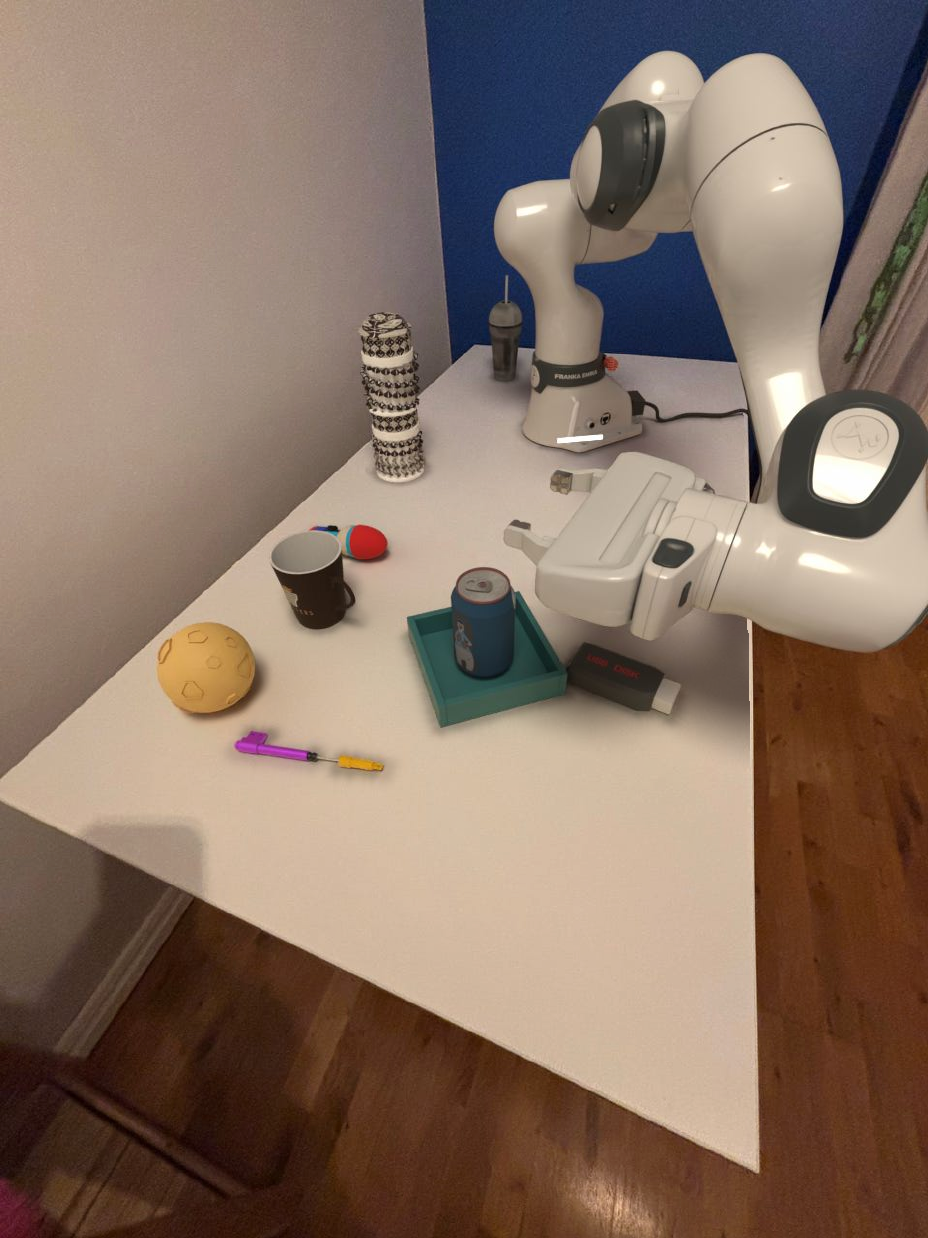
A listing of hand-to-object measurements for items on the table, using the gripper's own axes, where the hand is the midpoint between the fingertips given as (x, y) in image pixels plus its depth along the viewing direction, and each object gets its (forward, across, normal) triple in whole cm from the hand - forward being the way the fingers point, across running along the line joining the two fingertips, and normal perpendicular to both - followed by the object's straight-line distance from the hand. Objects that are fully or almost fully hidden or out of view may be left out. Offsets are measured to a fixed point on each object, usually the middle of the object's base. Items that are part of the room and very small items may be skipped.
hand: (531, 503), depth 53 cm
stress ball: (+29, +19, +24) cm, 42 cm away
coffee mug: (+27, +3, +24) cm, 36 cm away
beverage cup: (+42, -78, +24) cm, 92 cm away
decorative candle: (+39, -33, +24) cm, 57 cm away
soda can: (+5, 0, +23) cm, 24 cm away
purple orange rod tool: (+15, +20, +24) cm, 34 cm away
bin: (+5, 0, +24) cm, 24 cm away
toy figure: (+34, -10, +24) cm, 43 cm away
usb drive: (-10, -4, +24) cm, 26 cm away
